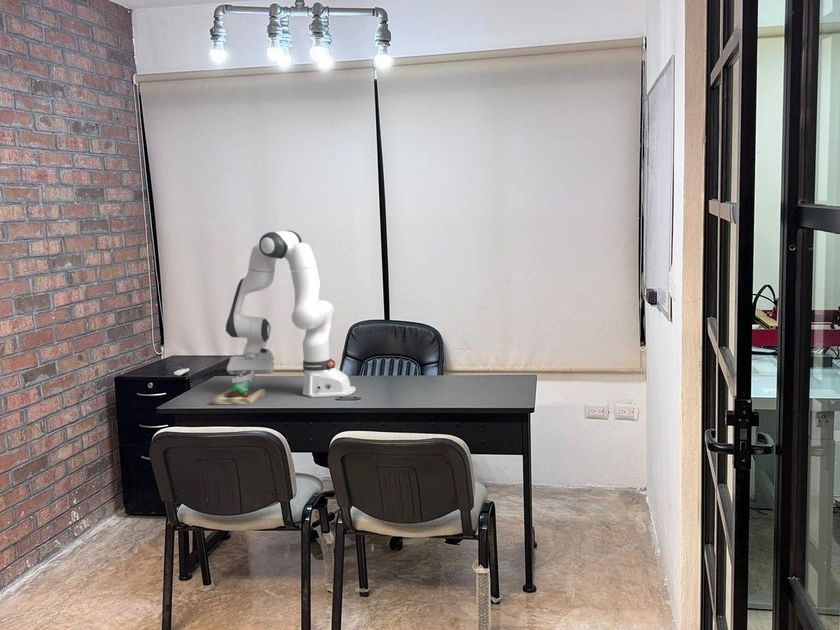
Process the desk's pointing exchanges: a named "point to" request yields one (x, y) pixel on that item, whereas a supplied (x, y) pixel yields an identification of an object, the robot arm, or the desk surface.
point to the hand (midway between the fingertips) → (246, 381)
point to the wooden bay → (225, 398)
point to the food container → (240, 385)
